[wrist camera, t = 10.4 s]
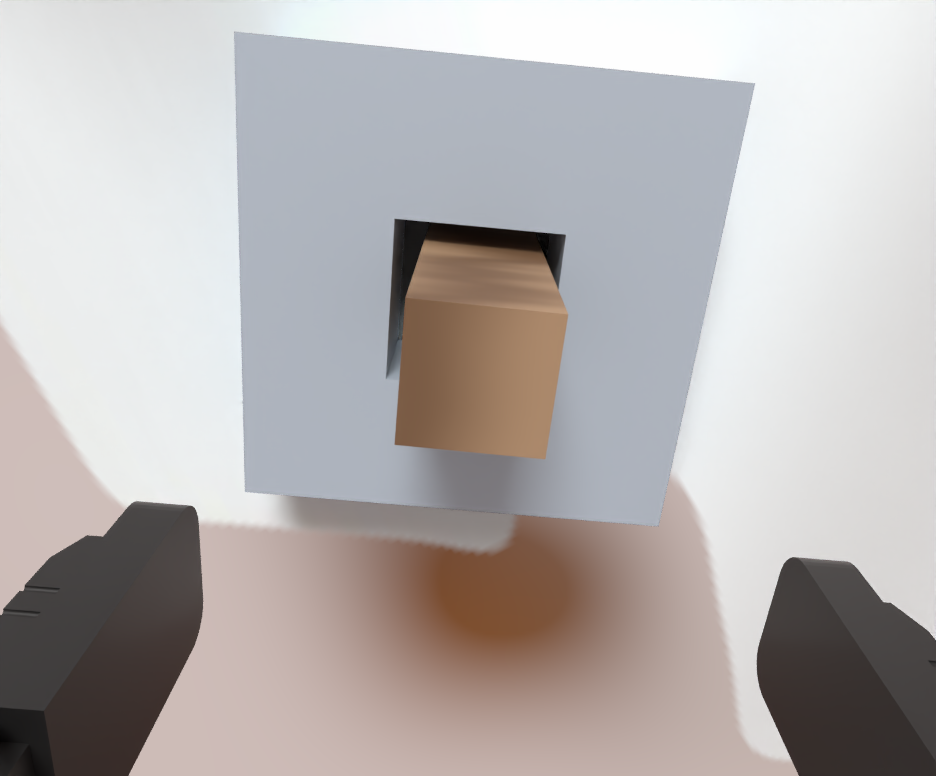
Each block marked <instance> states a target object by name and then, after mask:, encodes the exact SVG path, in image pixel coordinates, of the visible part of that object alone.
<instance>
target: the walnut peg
mask: <svg viewBox="0 0 936 776" xmlns="http://www.w3.org/2000/svg"><path fill="white" fill-rule="evenodd" d="M567 320H568V312H567V310H566V307H565V305H564V302H563V300H562V298H561V295H560V293H559V290H558V288H557V285H556V283H555V280H554V278H553V276H552V273H551V271H550V268H549V266H548V263H547V261H546V258H545V256H544V253H543V251H542V249H541V246H540V244H539V241H538V239H537V236H536V234H535V232H529V231H519V230H510V229H500V228H489V227H478V226H468V225H457V224H446V223H436V222H430V224H429V228H428V231H427V234H426V237H425V240H424V243H423V246H422V249H421V252H420V255H419V258H418V261H417V264H416V267H415V270H414V273H413V276H412V279H411V282H410V285H409V288H408V291H407V294H406V297H405V308H404V322H403V335H402V349H401V363H400V376H399V390H398V404H397V417H396V431H395V444H394V445H401V446H411V447H422V448H432V449H442V450H453V451H463V452H474V453H484V454H494V455H505V456H515V457H526V458H536V459H545V458H546V452H547V446H548V439H549V433H550V427H551V421H552V414H553V408H554V402H555V395H556V389H557V383H558V377H559V370H560V364H561V358H562V351H563V345H564V339H565V332H566V326H567Z"/></svg>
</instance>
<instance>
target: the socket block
mask: <svg viewBox="0 0 936 776" xmlns="http://www.w3.org/2000/svg"><path fill="white" fill-rule="evenodd" d="M234 42H235V85H236V128H237V170H238V213H239V256H240V298H241V341H242V383H243V426H244V469H245V492H252V493H264V494H276V495H288V496H300V497H312V498H324V499H336V500H348V501H360V502H372V503H384V504H396V505H408V506H420V507H431V508H443V509H455V510H467V511H479V512H491V513H503V514H515V515H527V516H539V517H552V518H563V519H575V520H587V521H599V522H611V523H623V524H635V525H646V526H659V522H660V517H661V513H662V508H663V503H664V499H665V494H666V490H667V485H668V481H669V476H670V471H671V467H672V462H673V458H674V453H675V448H676V444H677V439H678V435H679V430H680V425H681V421H682V416H683V412H684V407H685V402H686V398H687V393H688V389H689V384H690V380H691V375H692V370H693V366H694V361H695V357H696V352H697V347H698V343H699V338H700V334H701V329H702V324H703V320H704V315H705V311H706V306H707V301H708V297H709V292H710V288H711V283H712V279H713V274H714V269H715V265H716V260H717V256H718V251H719V246H720V242H721V237H722V233H723V228H724V223H725V219H726V214H727V210H728V205H729V200H730V196H731V191H732V187H733V182H734V178H735V173H736V168H737V164H738V159H739V155H740V150H741V145H742V141H743V136H744V132H745V127H746V122H747V118H748V113H749V109H750V104H751V99H752V95H753V90H754V86H755V83H745V82H735V81H725V80H715V79H705V78H695V77H684V76H674V75H664V74H654V73H644V72H634V71H624V70H614V69H604V68H594V67H584V66H574V65H564V64H554V63H544V62H534V61H524V60H514V59H504V58H494V57H483V56H473V55H463V54H453V53H443V52H433V51H423V50H413V49H403V48H393V47H383V46H373V45H363V44H353V43H343V42H333V41H323V40H313V39H303V38H293V37H283V36H272V35H262V34H252V33H242V32H234ZM405 220H414V221H425V222H436V223H446V224H457V225H468V226H478V227H489V228H500V229H510V230H521V231H532V232H543V233H550V239H549V247H548V254H547V263H548V266H549V268H550V271H551V273H552V276H553V278H554V280H555V283H556V285H557V288H558V290H559V293H560V295H561V298H562V300H563V302H564V305H565V307H566V310H567V312H568V320H567V326H566V332H565V339H564V345H563V351H562V358H561V364H560V370H559V377H558V383H557V389H556V395H555V402H554V408H553V414H552V421H551V427H550V433H549V439H548V446H547V452H546V458H545V459H536V458H526V457H515V456H505V455H494V454H484V453H474V452H463V451H453V450H442V449H432V448H422V447H411V446H401V445H394V444H395V431H396V417H397V404H398V390H399V376H400V363H401V349H402V339H398V332H399V315H400V298H401V281H402V264H403V247H404V230H405Z"/></svg>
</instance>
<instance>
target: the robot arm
mask: <svg viewBox="0 0 936 776" xmlns="http://www.w3.org/2000/svg"><path fill="white" fill-rule="evenodd" d="M200 557H201V556H200V540H199V523H198V516H197V512H196V510H195V508H194V507H193V506H187V505H175V504H163V503H151V502H139V501H136V502H133V503H132V504H131V505H130V506H129V507H128V508H127V509H126V510H125V511H124V513H123V514H122V515H121V516H120V517H119V518H118V520H117V521H116V522H115V523H114V525H113V526H112V527H111V528H110V529H109V531H108V532H107V533H106V534H105V535H104V537H101V536H88V535H87V536H85V537H84V538H82V539H80V540H79V541H77V542H75V543H74V544H72V545H71V546H69V547H67V548H65V549H64V550H62V551H60V552H59V553H57V554H55V555H54V556H52V557H50V558H49V559H48V560H47V561H46V563H45V564H44V565H43V566H42V567H41V568H40V569H39V571H37V573H35V575H34V576H33V577H32V578H31V579H30V580H29V581H28V582H27V583H26V585H25V589H24V591H19V592H18V593H17V594H16V596H15V597H14V598H13V599H12V600H11V601H10V602H9V603H8V604H7V605H6V607H5V608H4V609H3V610H4V611H3V614H2V615H0V776H128V775H129V773H130V771H131V769H132V767H133V765H134V763H135V761H136V759H137V758H138V755H139V753H140V752H141V750H142V748H143V746H144V744H145V742H146V740H147V738H148V736H149V734H150V732H151V730H152V728H153V726H154V724H155V722H156V720H157V718H158V716H159V714H160V712H161V710H162V708H163V706H164V704H165V703H166V701H167V699H168V697H169V695H170V692H171V691H172V689H173V687H174V685H175V683H176V681H177V679H178V677H179V675H180V673H181V671H182V669H183V667H184V665H185V663H186V661H187V659H188V657H189V655H190V653H191V651H192V649H193V647H194V645H195V642H196V639H197V636H198V633H199V629H200V623H201V619H202V610H203V590H202V574H201V558H200ZM757 675H758V682H759V687H760V690H761V693H762V696H763V698H764V700H765V703H766V705H767V707H768V709H769V711H770V713H771V716H772V718H773V720H774V722H775V724H776V727H777V729H778V731H779V733H780V735H781V738H782V740H783V742H784V744H785V746H786V748H787V751H788V753H789V755H790V757H791V759H792V762H793V764H794V766H795V768H796V770H797V772H798V775H799V776H936V640H935V639H934V638H933V636H932V635H931V634H930V633H929V631H927V630H926V629H925V628H923V627H922V626H921V625H919V624H918V623H917V622H915V621H914V620H913V619H911V618H910V617H909V616H907V615H906V614H905V613H904V612H902V611H901V610H900V609H898V608H897V607H896V606H894V605H893V604H892V603H884V602H882V600H881V599H880V598H879V596H878V595H877V594H876V592H875V591H874V590H873V589H872V587H871V586H870V585H869V583H868V582H867V581H866V580H865V578H864V577H863V576H862V574H861V573H860V572H859V570H858V569H857V568H856V567H855V566H854V565H853V564H851V563H849V562H844V561H832V560H820V559H808V558H796V557H792V558H790V559H788V560H787V561H786V562H785V563H784V565H783V567H782V569H781V572H780V575H779V579H778V582H777V585H776V589H775V592H774V596H773V599H772V602H771V606H770V609H769V613H768V616H767V619H766V623H765V626H764V629H763V633H762V636H761V640H760V643H759V647H758V653H757Z"/></svg>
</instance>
